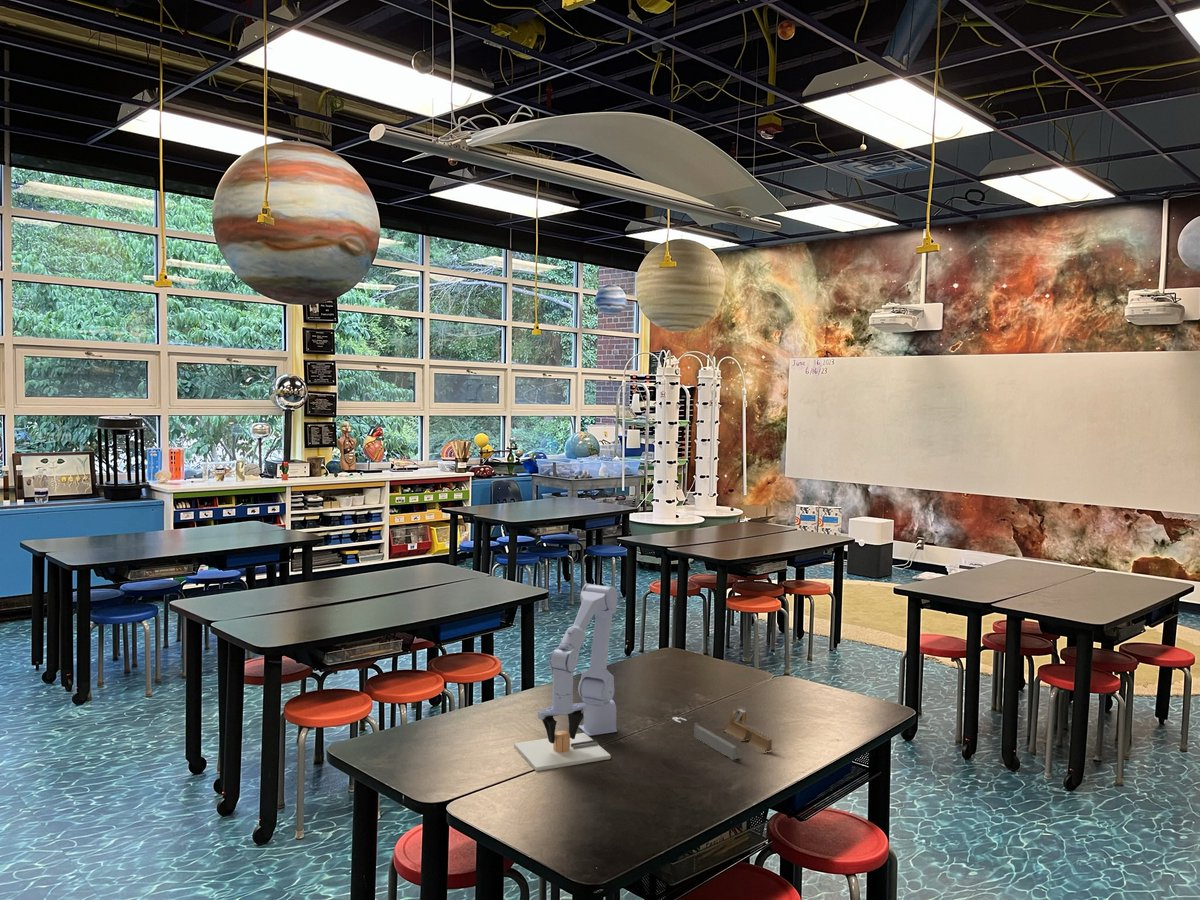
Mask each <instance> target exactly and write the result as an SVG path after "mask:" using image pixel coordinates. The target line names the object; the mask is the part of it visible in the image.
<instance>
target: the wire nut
mask: <svg viewBox="0 0 1200 900" xmlns="http://www.w3.org/2000/svg"><path fill="white" fill-rule="evenodd" d="M553 750H554V751H556V752H567V751H569V750H570V733H569V730H568V731H567V730H555V741H554V743H553Z"/></svg>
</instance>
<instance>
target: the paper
mask: <svg viewBox="0 0 1200 900" xmlns="http://www.w3.org/2000/svg"><path fill="white" fill-rule="evenodd" d="M671 719H672V720H673V721H675V722H677V723H678V724H679V723H681V724H682V721H680V720H683V721H688V719H686V718H682V717H681V716H680V717H678V716H673V717H672V718H671Z"/></svg>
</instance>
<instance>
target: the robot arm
mask: <svg viewBox="0 0 1200 900" xmlns="http://www.w3.org/2000/svg"><path fill="white" fill-rule="evenodd" d="M579 596H580V606H579V609H578V612H577V614H576V617H575V620H574V623H573V626H569V627H568V628H567V629H566V631H565V632H564V635H563V637H562V639H561V641H560V643H559V645H558V647H557V648H556V649H554V650H552V652H551V653H550V655H549V660H548V665H549V668H550V674H551V676H552V697H551V698H552V702H551V703H552V704H551V706H548V707H546V708H543V709H540V710H537V718H538V719H539V720H540V721H542V723H543V726H544V728H545V730H546V734H547V738H548V740H549V742H550V743H554V741H555V732H556V727H557V723H558V721H556V719H555V718H554V717H557V716H562V715H567V717H568V732H569V733H570V738H572V739H575V736H576V734H577V732H578V728H579V729H580V730H581V731H582V732H583V733H585V734H587V735H588V736H589V737H591V736H598V735H605V734H610V733H617V732H618V730H617V705H616V703H615V701H614V698H613V697H614V696H615V684H614V683H615V676H614V675H612V674H611V673H610V671H609V669H607V665H608V657H609V647H610V639H611V638H610V637H611V630H612V623H613V622H612V621H613V614H616V613H617V607H618V599H619V598H618V597H619V594H618V591H617V588H616V587H615V586H607V585H601V584H600V585H599V584H592V583H585V584H584V585H583V587H582V588H581V591H580V594H579ZM593 616H594V617H595V618H594V626H593V636H592V645H591V646H592V647H591V654H590V661H589V668H587V669H586V670H584V671H582V673H581V677H580V681H579V683H578V687H577V691H578V694H579V697H580V698H581V701H582V702H578V703H576V702H575V703H573V701H574V695H573V694H574V671H575V670H576V668H577V665H578V659H579V657H580V654H579V651H580V650H581V648H582V645H583V644H584V641H585V639H586V634H585V630H586V629H587V628H588V625H589V623H590V622H591V620H592V619H593ZM582 720H583V724H582V725H581V724H580V723H581V722H582Z"/></svg>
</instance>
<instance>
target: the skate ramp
mask: <svg viewBox="0 0 1200 900" xmlns="http://www.w3.org/2000/svg"><path fill="white" fill-rule="evenodd" d="M736 713H737V714H736ZM735 715H736V716H735ZM693 731H694V732H693V733H694V734H693V738H694V737H695V738H696V739H695V738H694V739H695V740H697V739H698V740H697V741H699V740H700V741H702V742H703V743H702V742H701V743H702V744H704V743H705V744H707V745H709V746H710V747H712V748H714V749H715V750H717V751H719V752H721V753H722V754H724V755H726V756H728V757H730V758H731V759H736V758H741V757H740V756H739V754H738V753H737V746H736V743H735V744H733V743H731V742H729V741H727V740H725V739H724V738H722V737H720V736H719V735H717V734H715V733H714V732H711V731H710V730H708V729H706V728H705V727H703V726H701V725H699V724H698V722H695V725H694V727H693ZM723 731H725V732H727V733H729V734H732V735H734V736H735V737H737V738H739V739H741V740H746V739H749V741H747V742H748V743H749V744H751V745H753V746H755V747H757V748H759V749H761V750H763V751H765V752H766V751H770V750H773V749H772V747H773V746H772V745H773V743H772V736H770V735H769V736H766V735H765V736H764V734H762V731H761V730H759V729H757V728H756V727H753V726H751V725H750V727H749V726H747V708H746V707H744V706H743V707H742V706H737V709H734V710H733V711H732V712H731V715H730V718H729V721H728V724H727V726H726V728H725V729H724V730H723ZM758 731H759V732H758ZM750 732H751V733H750ZM700 741H699V742H700ZM748 743H747V744H748ZM705 744H704V745H705ZM707 745H706V746H707ZM709 746H708V747H709ZM710 747H709V748H710ZM712 748H711V749H712ZM714 749H713V750H714ZM715 750H714V751H715ZM717 751H716V752H717ZM719 752H718V753H719ZM722 754H721V755H722ZM724 755H723V756H724Z"/></svg>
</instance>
